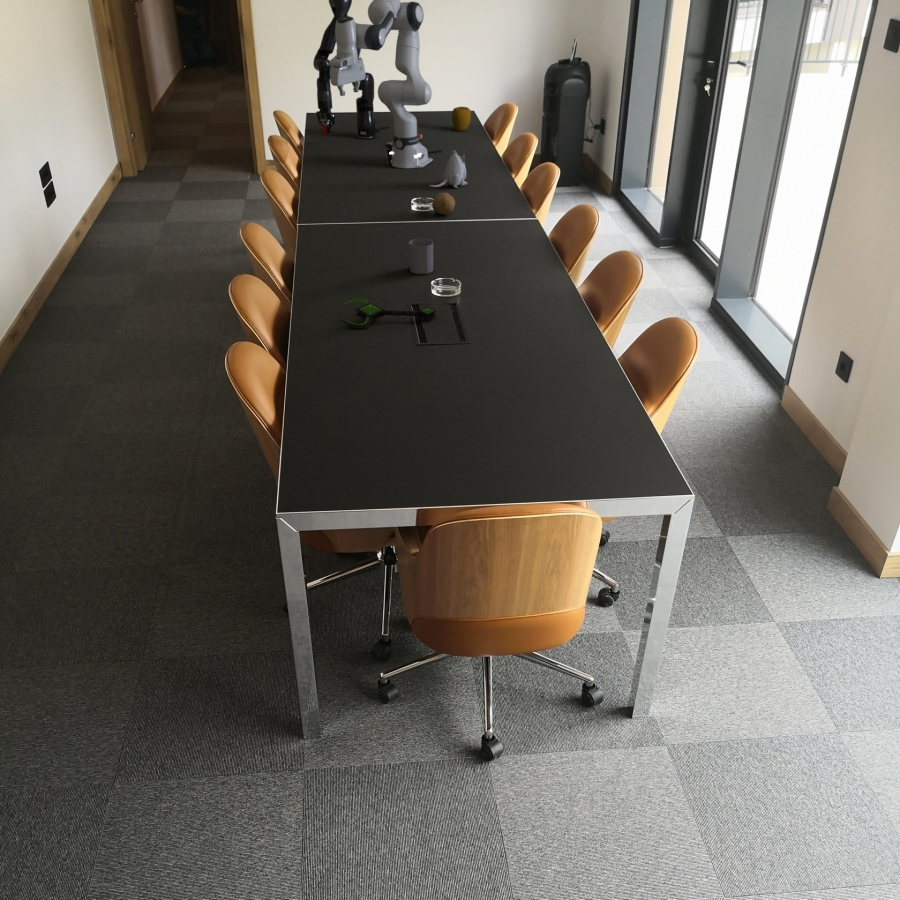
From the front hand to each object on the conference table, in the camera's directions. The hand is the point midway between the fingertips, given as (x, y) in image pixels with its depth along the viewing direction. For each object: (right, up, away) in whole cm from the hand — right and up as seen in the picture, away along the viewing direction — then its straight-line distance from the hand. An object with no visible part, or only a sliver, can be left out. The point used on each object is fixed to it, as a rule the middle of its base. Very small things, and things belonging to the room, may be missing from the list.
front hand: (349, 93), depth 377 cm
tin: (-22, +13, +82) cm, 86 cm away
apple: (+50, +26, +114) cm, 127 cm away
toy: (+43, -36, +17) cm, 58 cm away
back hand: (-21, +13, +82) cm, 86 cm away
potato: (+41, -56, -14) cm, 71 cm away
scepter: (+25, -115, -105) cm, 158 cm away
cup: (+34, -91, -69) cm, 119 cm away
